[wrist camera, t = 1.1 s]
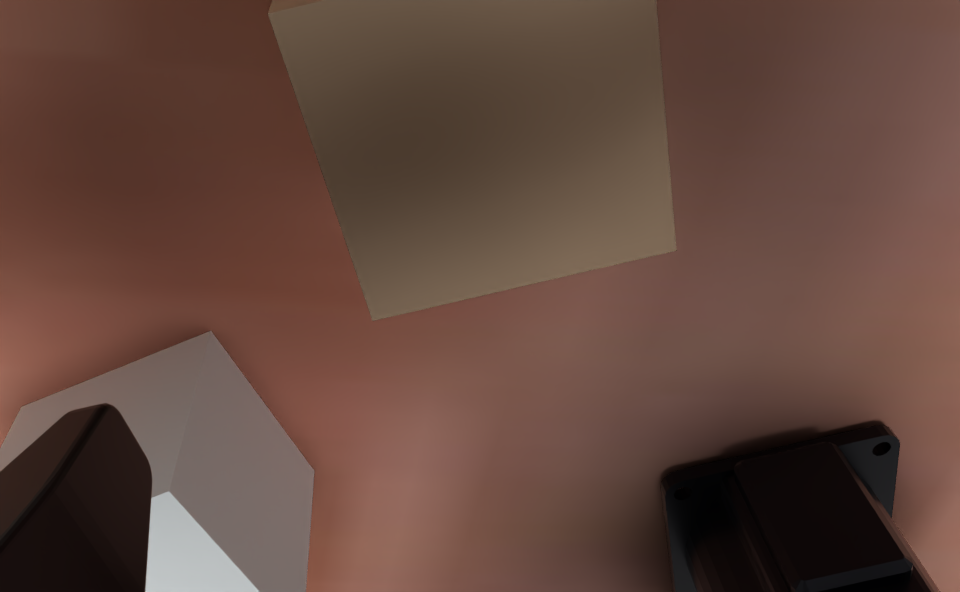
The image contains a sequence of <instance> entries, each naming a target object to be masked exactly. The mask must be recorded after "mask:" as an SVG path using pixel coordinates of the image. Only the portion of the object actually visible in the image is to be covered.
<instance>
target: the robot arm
mask: <svg viewBox="0 0 960 592" xmlns="http://www.w3.org/2000/svg"><path fill="white" fill-rule="evenodd" d="M899 448H900V443H899V439H898V438H897V437H896V435H895V434H894V433H893V431H892V430H891V429H890V428H889V427H887V426H884V425H878V426H872V427H868V428H863V429H859V430H854V431H850V432H846V433H841V434H837V435H832V436H828V437H823V438H819V439H815V440H810V441H806V442H801V443H797V444H792V445H788V446H784V447H779V448H775V449H770V450H766V451H761V452H757V453H753V454H748V455H744V456H739V457H735V458H730V459H726V460H722V461H717V462H713V463H708V464H704V465H699V466H695V467H691V468H686V469H682V470H677V471H675V472H672V473H670V474H668V475H667V476H666V477H665V478H664V479H663V481H662V482H661V493H662V502H663V511H664V519H665V528H666V537H667V545H668V554H669V562H670V571H671V580H672V588H673V592H940V591H939V589H938V588H937V586H936V585H935V583H934V582H933V580H932V579H931V577H930V576H929V574H928V573H927V571H926V570H925V568H924V567H923V565H922V564H921V562H920V561H919V559H918V558H917V556H916V555H915V553H914V552H913V550H912V549H911V547H910V546H909V544H908V543H907V541H906V540H905V538H904V537H903V535H902V534H901V532H900V530H899V529H898V527H897V526H896V524H895V523H894V521H893V520H892V510H893V501H894V492H895V483H896V475H897V466H898V457H899ZM682 487H683V488H682ZM679 488H681V489H679ZM151 496H152V472H151V467H150V464H149V461H148V459H147V457H146V455H145V453H144V452H143V450H142V448H141V446H140V445H139V443H138V441H137V440H136V438H135V436H134V435H133V433H132V431H131V430H130V428H129V426H128V425H127V423H126V421H125V420H124V418H123V416H122V415H121V413H120V412H119V411H118V409H117V408H116V407H114V406H113V405H111V404H108V403H102V404H97V405H93V406H88V407H84V408H80V409H75V410H72V411H69V412H67V413H66V414H65V415H63V416H62V417H61V418H60V419H59V420H58V421H57V422H55V423H54V424H53V425H52V426H51V427H50V428H49V429H48V430H46V431H45V432H44V433H43V434H42V435H41V436H40V437H39V438H37V439H36V440H35V441H34V442H33V443H32V444H31V445H30V446H28V447H27V448H26V449H25V450H24V451H23V452H22V453H20V454H19V455H18V456H17V457H16V458H15V459H14V460H13V461H11V462H10V463H9V464H8V465H7V466H6V467H5V468H4V469H2V470H1V471H0V592H145V590H146V575H147V559H148V543H149V528H150V512H151Z"/></svg>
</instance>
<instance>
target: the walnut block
mask: <svg viewBox="0 0 960 592" xmlns="http://www.w3.org/2000/svg"><path fill="white" fill-rule="evenodd" d="M268 16H269V19H270V22H271V25H272V28H273V31H274V34H275V37H276V40H277V42H278V45H279V48H280V51H281V54H282V57H283V60H284V63H285V66H286V69H287V72H288V75H289V78H290V81H291V83H292V86H293V89H294V92H295V95H296V98H297V101H298V104H299V107H300V110H301V113H302V116H303V119H304V122H305V124H306V127H307V130H308V133H309V136H310V139H311V142H312V145H313V148H314V151H315V154H316V157H317V160H318V163H319V165H320V168H321V171H322V174H323V177H324V180H325V183H326V186H327V189H328V192H329V195H330V198H331V201H332V204H333V206H334V209H335V212H336V215H337V218H338V221H339V224H340V227H341V230H342V233H343V236H344V239H345V242H346V245H347V247H348V250H349V253H350V256H351V259H352V262H353V265H354V268H355V271H356V274H357V277H358V280H359V283H360V285H361V288H362V291H363V294H364V297H365V300H366V303H367V306H368V309H369V312H370V315H371V318H372V321H375V320H379V319H384V318H388V317H392V316H396V315H401V314H405V313H409V312H414V311H418V310H422V309H427V308H431V307H435V306H440V305H444V304H448V303H453V302H457V301H461V300H466V299H470V298H474V297H479V296H483V295H487V294H492V293H496V292H500V291H504V290H509V289H513V288H517V287H522V286H526V285H530V284H535V283H539V282H543V281H548V280H552V279H556V278H561V277H565V276H569V275H574V274H578V273H582V272H587V271H591V270H595V269H600V268H604V267H608V266H612V265H617V264H621V263H625V262H630V261H634V260H638V259H643V258H647V257H651V256H656V255H660V254H664V253H669V252H673V251H677V250H676V238H675V226H674V213H673V201H672V189H671V176H670V164H669V152H668V139H667V127H666V115H665V102H664V90H663V78H662V65H661V53H660V41H659V28H658V16H657V4H656V0H272V3H271V6H270V9H269V11H268Z"/></svg>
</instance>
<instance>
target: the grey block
mask: <svg viewBox="0 0 960 592" xmlns="http://www.w3.org/2000/svg"><path fill="white" fill-rule="evenodd" d="M102 403H108V404H111V405H113V406H114V407H116V408H117V409H118V411H119V412H120V413H121V415H122V416H123V418H124V420H125V421H126V423H127V425H128V426H129V428H130V430H131V431H132V433H133V435H134V436H135V438H136V440H137V441H138V443H139V445H140V446H141V448H142V450H143V452H144V453H145V455H146V457H147V459H148V461H149V464H150V467H151V472H152V496H151V512H150V528H149V543H148V559H147V575H146V590H145V592H306V583H307V569H308V555H309V541H310V527H311V513H312V499H313V485H314V470H313V468H312V467H311V466H310V464H309V463H308V462H307V460H306V459H305V458H304V456H303V455H302V453H301V452H300V451H299V449H298V448H297V447H296V445H295V444H294V443H293V441H292V440H291V439H290V437H289V436H288V434H287V433H286V432H285V430H284V429H283V428H282V426H281V425H280V424H279V422H278V421H277V420H276V418H275V417H274V416H273V414H272V413H271V411H270V410H269V409H268V407H267V406H266V405H265V403H264V402H263V401H262V399H261V398H260V397H259V395H258V394H257V392H256V391H255V390H254V388H253V387H252V386H251V384H250V383H249V382H248V380H247V379H246V378H245V376H244V375H243V373H242V372H241V371H240V369H239V368H238V367H237V365H236V364H235V363H234V361H233V360H232V359H231V357H230V356H229V354H228V353H227V352H226V350H225V349H224V348H223V346H222V345H221V344H220V342H219V341H218V340H217V338H216V337H215V336H214V334H213V333H212V331H209V332H206V333H204V334H201V335H199V336H196V337H194V338H191V339H189V340H186V341H184V342H181V343H179V344H176V345H174V346H171V347H169V348H166V349H164V350H161V351H159V352H156V353H154V354H151V355H149V356H146V357H144V358H141V359H139V360H136V361H134V362H131V363H129V364H126V365H124V366H121V367H119V368H116V369H114V370H112V371H109V372H107V373H104V374H102V375H99V376H97V377H94V378H92V379H89V380H87V381H84V382H82V383H79V384H77V385H74V386H72V387H69V388H67V389H64V390H62V391H59V392H57V393H54V394H52V395H49V396H47V397H44V398H42V399H39V400H37V401H34V402H32V403H29V404H27V405H24V406H22V407H21V408H20V410H19V412H18V414H17V416H16V418H15V420H14V422H13V424H12V426H11V428H10V430H9V432H8V434H7V436H6V438H5V440H4V442H3V444H2V446H1V447H0V471H1V470H2V469H4V468H5V467H6V466H7V465H8V464H9V463H10V462H11V461H13V460H14V459H15V458H16V457H17V456H18V455H19V454H20V453H22V452H23V451H24V450H25V449H26V448H27V447H28V446H30V445H31V444H32V443H33V442H34V441H35V440H36V439H37V438H39V437H40V436H41V435H42V434H43V433H44V432H45V431H46V430H48V429H49V428H50V427H51V426H52V425H53V424H54V423H55V422H57V421H58V420H59V419H60V418H61V417H62V416H63V415H65V414H66V413H67V412H69V411H72V410H75V409H80V408H84V407H88V406H93V405H97V404H102Z"/></svg>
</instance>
